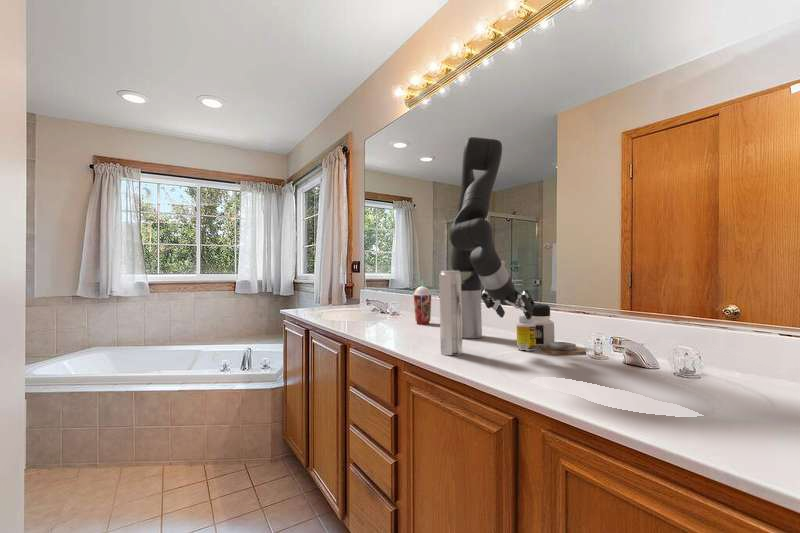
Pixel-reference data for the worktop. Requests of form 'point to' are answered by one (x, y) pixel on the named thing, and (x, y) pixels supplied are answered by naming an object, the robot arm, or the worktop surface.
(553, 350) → the hub
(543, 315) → the container
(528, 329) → the supplement bottle
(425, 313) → the smoothie
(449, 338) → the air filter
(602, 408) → the worktop surface
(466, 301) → the robot arm
